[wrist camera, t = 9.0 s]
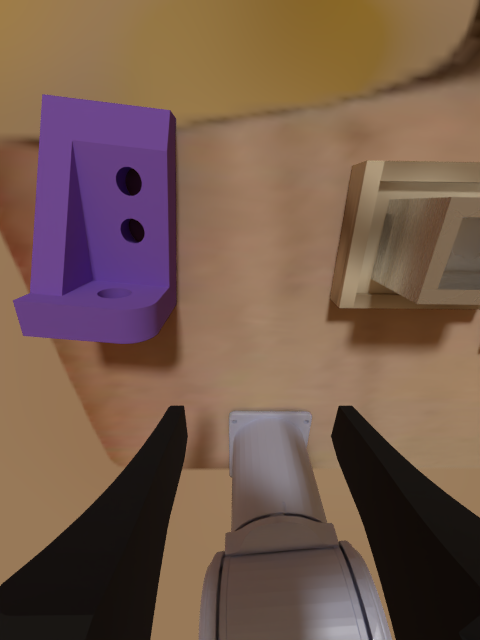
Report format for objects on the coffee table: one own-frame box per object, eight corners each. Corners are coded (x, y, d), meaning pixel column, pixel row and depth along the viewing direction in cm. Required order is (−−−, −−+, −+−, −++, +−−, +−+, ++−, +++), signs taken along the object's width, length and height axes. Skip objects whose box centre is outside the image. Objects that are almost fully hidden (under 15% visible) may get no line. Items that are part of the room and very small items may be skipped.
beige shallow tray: (480, 300, 20) (504, 309, 18) (329, 298, 20) (339, 307, 18) (537, 168, 16) (575, 163, 14) (352, 165, 16) (367, 160, 14)
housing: (483, 279, 18) (568, 305, 13) (370, 278, 18) (416, 304, 13) (517, 201, 16) (631, 199, 11) (389, 199, 16) (451, 196, 11)
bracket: (177, 302, 20) (150, 346, 14) (90, 294, 20) (23, 335, 14) (176, 119, 15) (133, 60, 9) (60, 104, 15) (-66, 33, 9)
